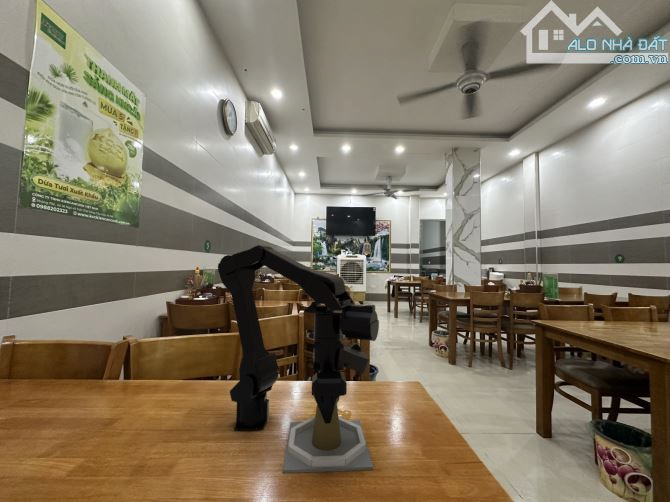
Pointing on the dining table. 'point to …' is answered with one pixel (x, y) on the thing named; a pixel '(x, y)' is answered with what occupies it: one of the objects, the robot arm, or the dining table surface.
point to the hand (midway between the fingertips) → (326, 412)
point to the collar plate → (314, 460)
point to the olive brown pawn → (326, 431)
